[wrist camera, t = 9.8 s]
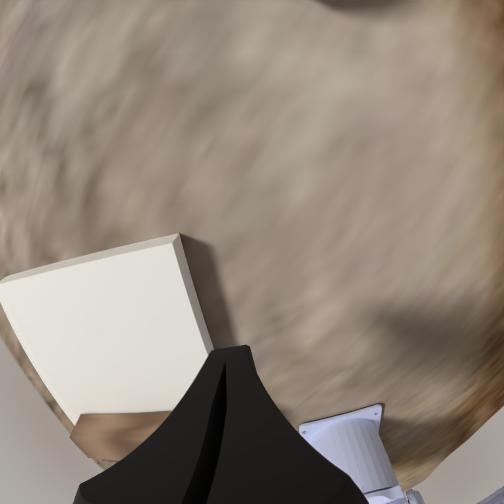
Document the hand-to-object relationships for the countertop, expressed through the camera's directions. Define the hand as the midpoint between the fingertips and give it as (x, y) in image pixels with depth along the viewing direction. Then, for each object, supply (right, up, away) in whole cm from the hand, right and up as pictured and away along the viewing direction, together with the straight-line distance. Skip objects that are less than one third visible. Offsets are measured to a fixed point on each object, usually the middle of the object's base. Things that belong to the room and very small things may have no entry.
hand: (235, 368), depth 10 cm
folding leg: (-8, -10, +11) cm, 17 cm away
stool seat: (-10, -5, +11) cm, 16 cm away
